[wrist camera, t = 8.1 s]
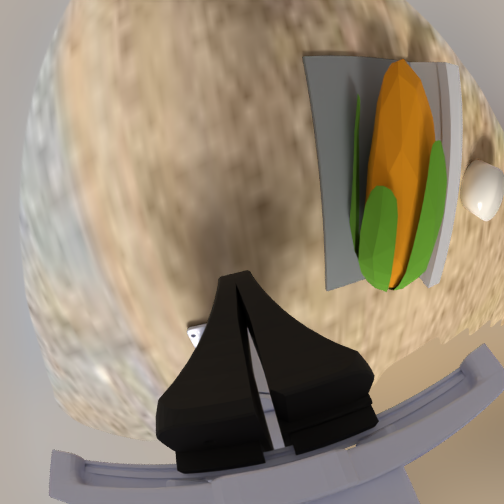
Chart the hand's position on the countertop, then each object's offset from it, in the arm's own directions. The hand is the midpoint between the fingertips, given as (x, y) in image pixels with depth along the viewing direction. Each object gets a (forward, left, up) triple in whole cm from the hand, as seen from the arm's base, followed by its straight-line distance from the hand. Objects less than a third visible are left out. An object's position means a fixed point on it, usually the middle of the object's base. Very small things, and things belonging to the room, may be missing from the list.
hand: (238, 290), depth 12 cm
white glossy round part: (-4, -31, -11) cm, 33 cm away
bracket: (-1, -14, -10) cm, 18 cm away
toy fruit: (0, -14, -10) cm, 17 cm away
